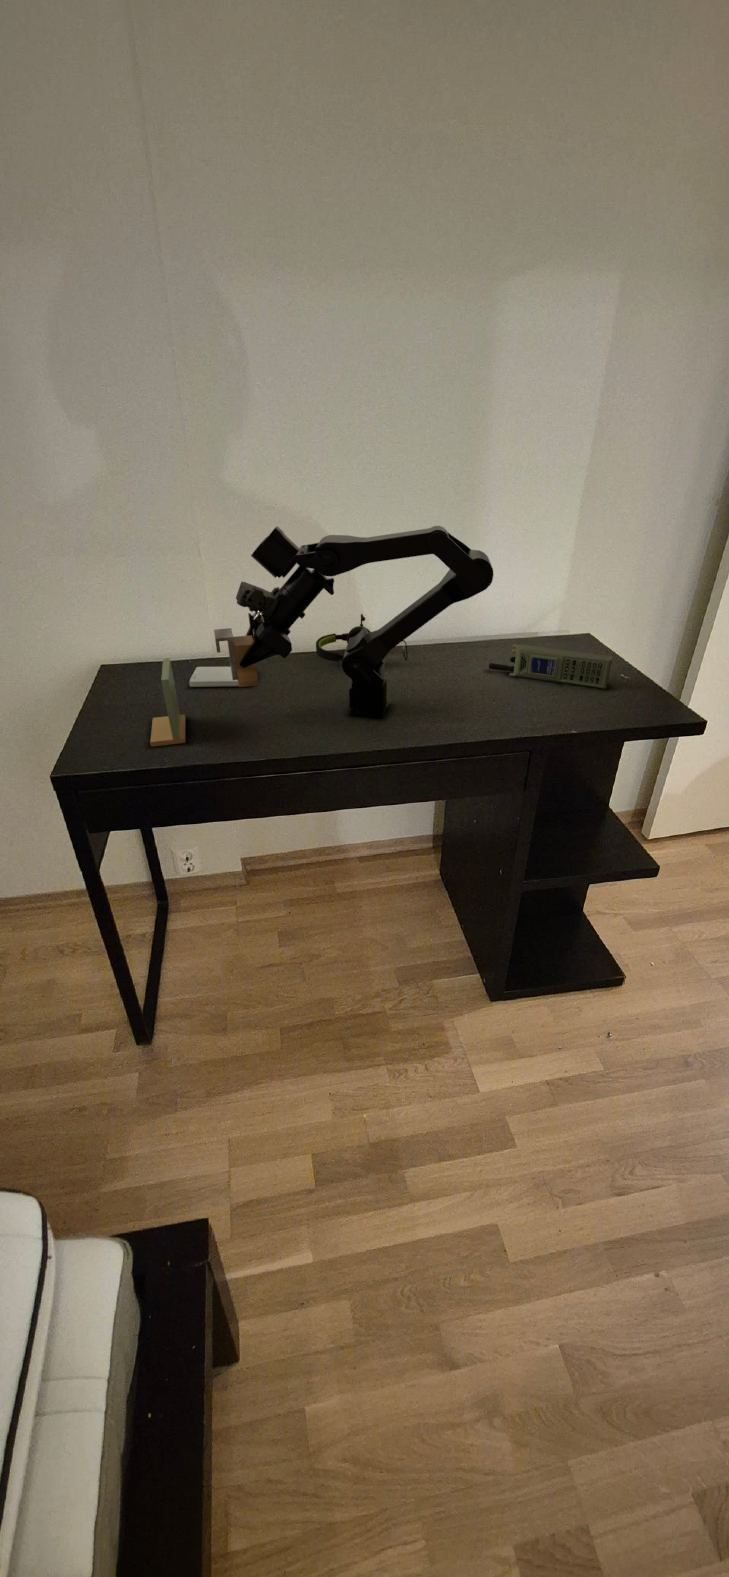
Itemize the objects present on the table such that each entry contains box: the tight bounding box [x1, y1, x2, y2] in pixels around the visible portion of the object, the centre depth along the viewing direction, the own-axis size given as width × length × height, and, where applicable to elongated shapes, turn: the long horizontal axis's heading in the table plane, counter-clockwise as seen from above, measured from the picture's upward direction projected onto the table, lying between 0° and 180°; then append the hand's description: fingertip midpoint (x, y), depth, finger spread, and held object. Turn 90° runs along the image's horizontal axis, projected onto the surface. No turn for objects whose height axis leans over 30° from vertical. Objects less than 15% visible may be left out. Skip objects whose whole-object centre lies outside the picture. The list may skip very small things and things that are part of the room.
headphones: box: [315, 613, 408, 663], centre depth 149 cm, size 16×10×20 cm
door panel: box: [149, 658, 187, 747], centre depth 119 cm, size 6×10×12 cm, turn 13°
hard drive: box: [189, 666, 239, 688], centre depth 143 cm, size 2×8×12 cm
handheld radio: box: [488, 643, 613, 690], centre depth 140 cm, size 7×3×25 cm
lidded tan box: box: [213, 627, 260, 688], centre depth 121 cm, size 7×5×10 cm
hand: (240, 660), depth 122 cm, fingers closed on lidded tan box, 5 cm apart
